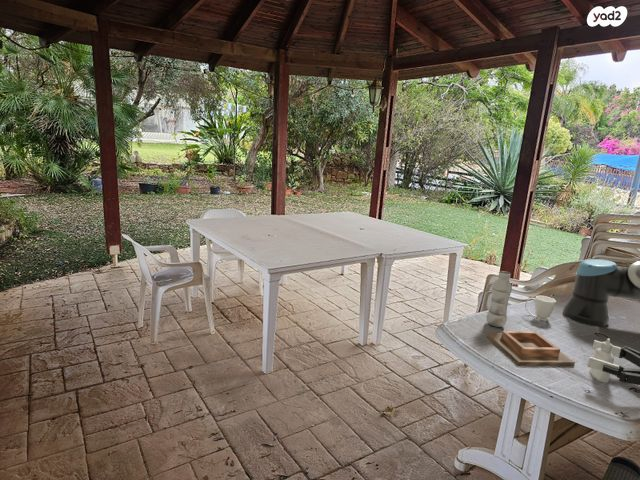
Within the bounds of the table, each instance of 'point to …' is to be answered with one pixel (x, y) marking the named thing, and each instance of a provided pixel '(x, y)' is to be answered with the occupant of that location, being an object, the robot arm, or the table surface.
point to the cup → (543, 307)
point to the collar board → (529, 349)
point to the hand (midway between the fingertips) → (590, 352)
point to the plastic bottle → (499, 300)
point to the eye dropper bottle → (603, 355)
